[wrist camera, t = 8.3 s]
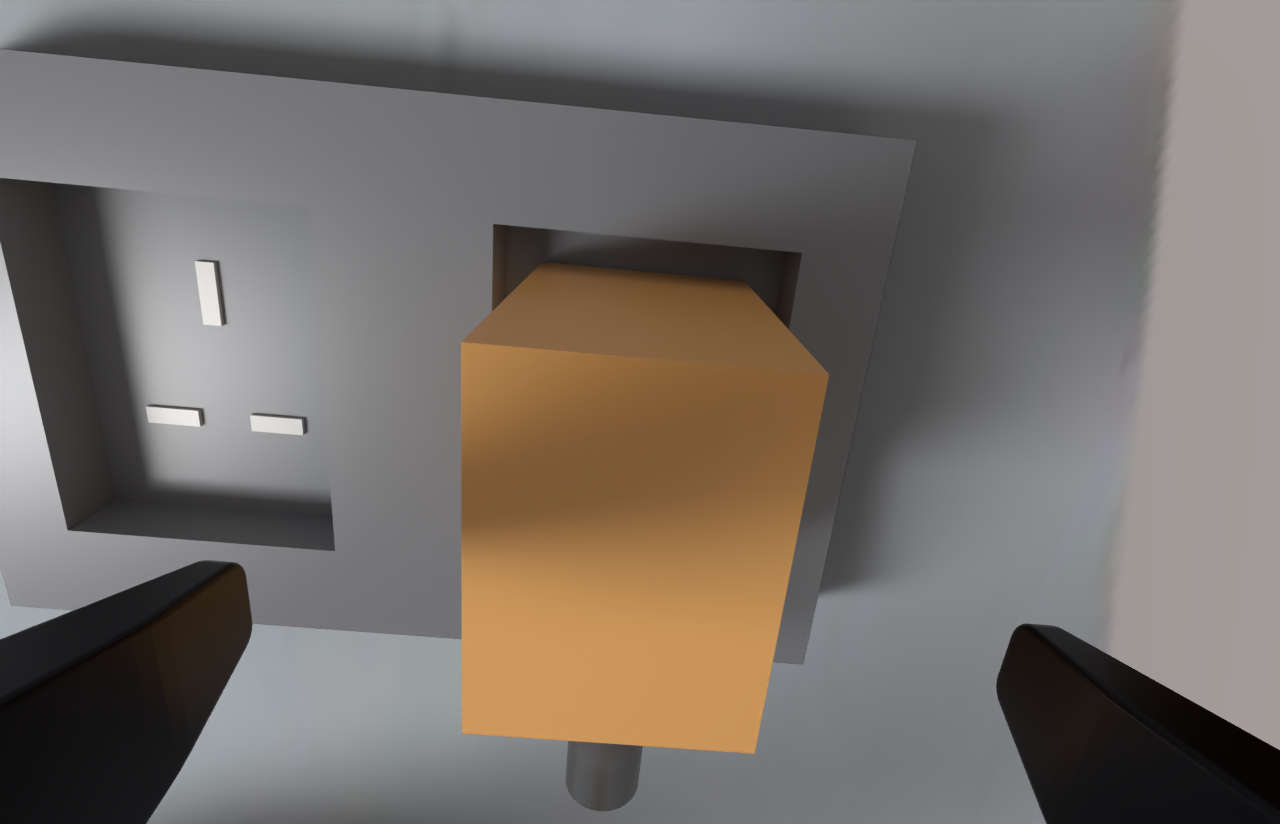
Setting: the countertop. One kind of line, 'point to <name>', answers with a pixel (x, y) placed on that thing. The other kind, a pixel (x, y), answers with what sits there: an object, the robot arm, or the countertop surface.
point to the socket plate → (356, 314)
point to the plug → (628, 514)
